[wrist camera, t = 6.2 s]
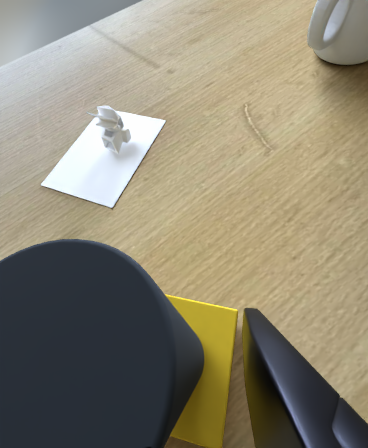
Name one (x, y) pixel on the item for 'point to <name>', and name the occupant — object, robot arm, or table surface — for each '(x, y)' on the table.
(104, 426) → the sponge wand
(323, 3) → the cup
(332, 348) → the table surface
